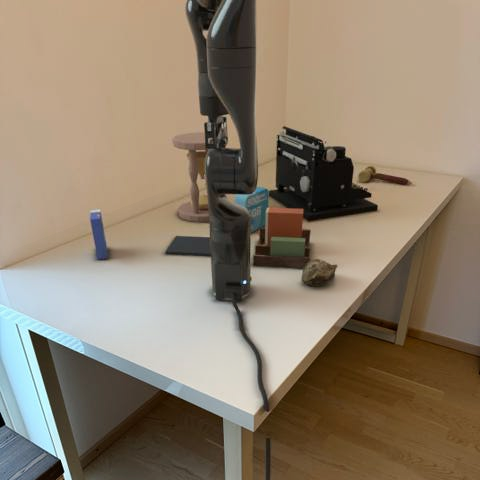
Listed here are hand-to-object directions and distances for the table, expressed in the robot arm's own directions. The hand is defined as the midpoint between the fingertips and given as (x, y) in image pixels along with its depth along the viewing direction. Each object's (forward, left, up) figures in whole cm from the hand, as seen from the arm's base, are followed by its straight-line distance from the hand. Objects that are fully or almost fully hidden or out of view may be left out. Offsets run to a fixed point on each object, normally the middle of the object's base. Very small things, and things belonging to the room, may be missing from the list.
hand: (218, 162), depth 121 cm
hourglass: (+31, +11, -25) cm, 41 cm away
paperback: (-6, -19, -25) cm, 32 cm away
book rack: (-1, -18, -25) cm, 30 cm away
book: (+2, -18, -25) cm, 30 cm away
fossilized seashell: (-16, -28, -25) cm, 41 cm away
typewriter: (+47, -29, -25) cm, 60 cm away
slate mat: (+2, +5, -25) cm, 25 cm away
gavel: (+77, -56, -25) cm, 98 cm away
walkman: (-6, +33, -25) cm, 42 cm away
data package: (+19, -7, -25) cm, 32 cm away
